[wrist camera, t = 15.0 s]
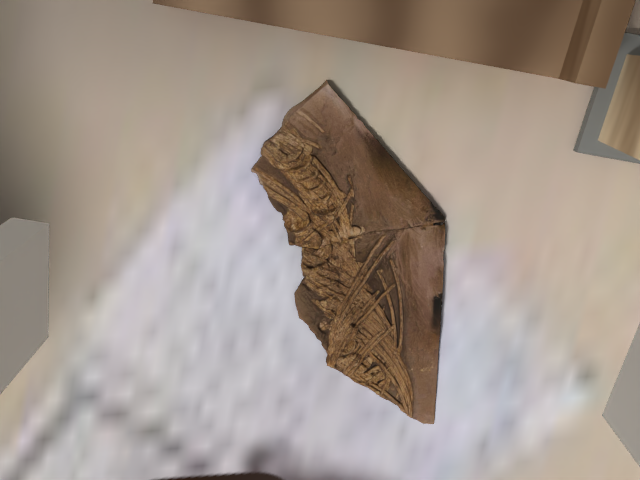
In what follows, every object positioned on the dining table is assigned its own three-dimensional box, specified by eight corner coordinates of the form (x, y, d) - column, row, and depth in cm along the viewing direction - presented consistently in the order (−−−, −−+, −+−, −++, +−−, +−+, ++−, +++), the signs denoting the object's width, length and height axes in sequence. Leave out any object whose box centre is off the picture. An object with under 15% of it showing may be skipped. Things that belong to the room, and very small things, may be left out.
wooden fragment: (232, 107, 36) (230, 109, 35) (408, 56, 35) (411, 57, 34) (341, 438, 45) (341, 448, 44) (484, 407, 43) (488, 416, 42)
